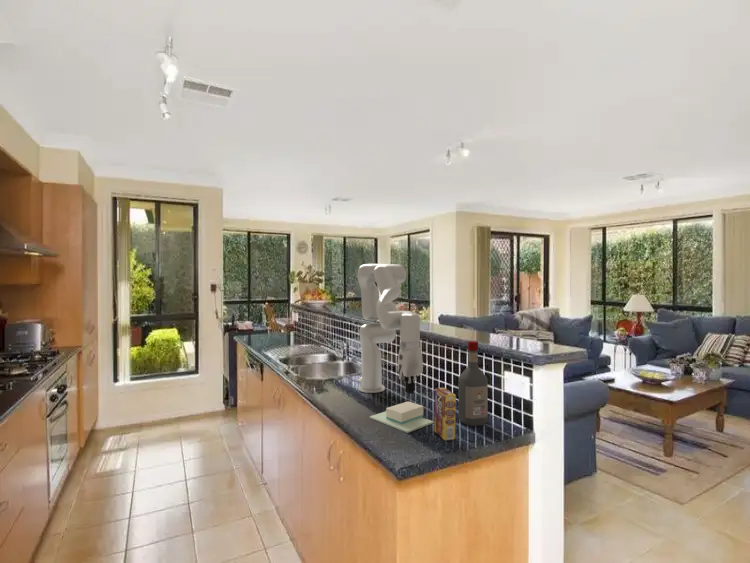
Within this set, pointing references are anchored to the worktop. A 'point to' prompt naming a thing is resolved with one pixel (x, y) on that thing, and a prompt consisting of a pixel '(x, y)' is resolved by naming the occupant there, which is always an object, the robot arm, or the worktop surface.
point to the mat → (404, 427)
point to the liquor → (473, 391)
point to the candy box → (445, 413)
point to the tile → (404, 412)
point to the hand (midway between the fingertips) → (409, 392)
